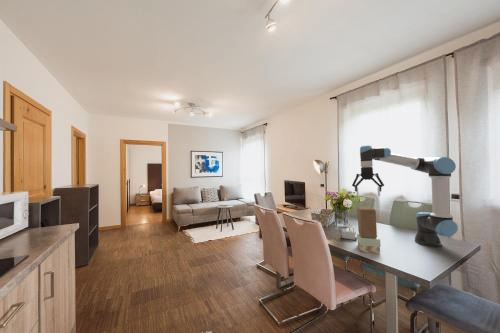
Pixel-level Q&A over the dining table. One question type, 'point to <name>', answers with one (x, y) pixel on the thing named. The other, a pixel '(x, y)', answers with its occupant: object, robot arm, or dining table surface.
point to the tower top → (368, 241)
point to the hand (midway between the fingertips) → (368, 196)
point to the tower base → (369, 249)
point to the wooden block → (367, 222)
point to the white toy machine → (349, 234)
